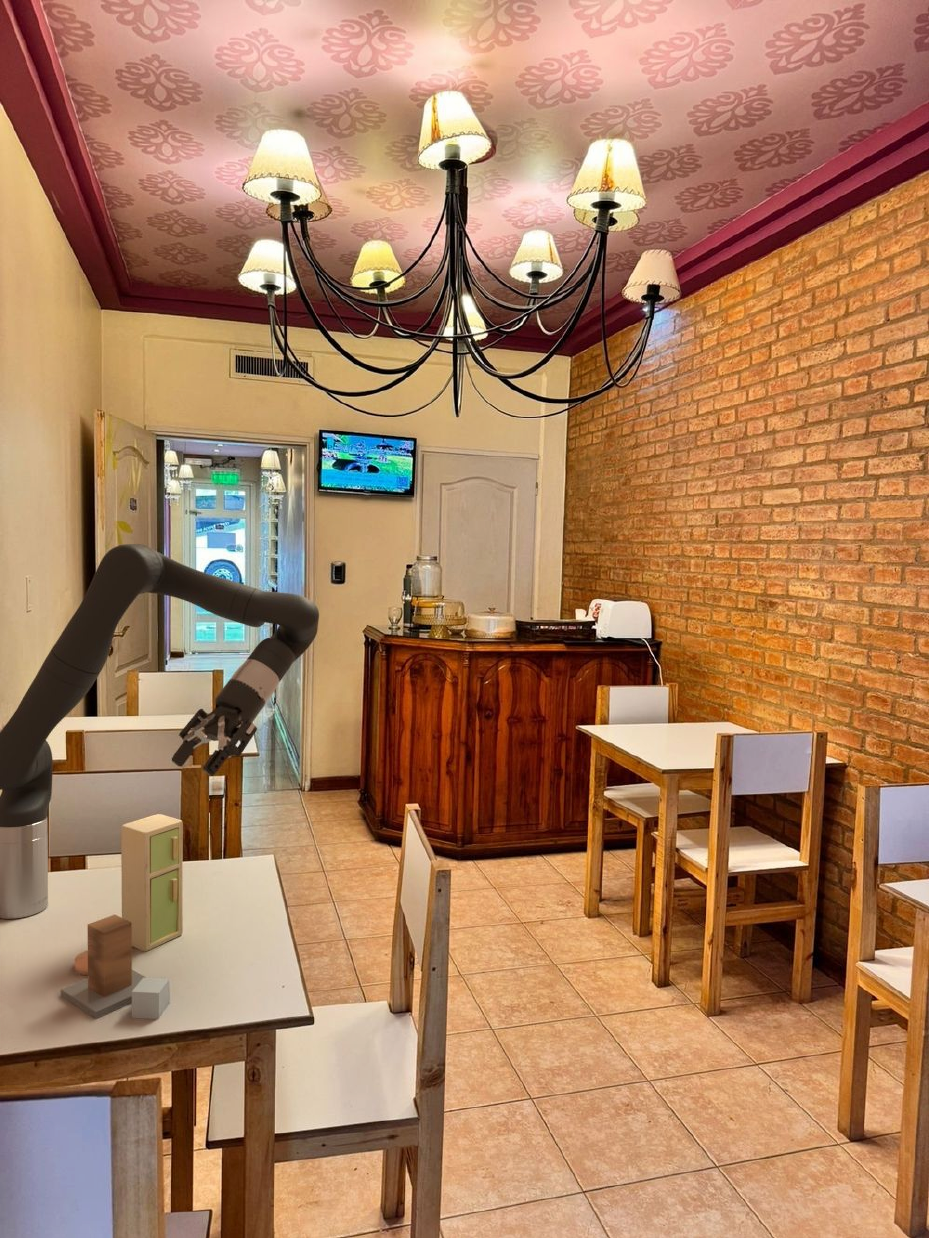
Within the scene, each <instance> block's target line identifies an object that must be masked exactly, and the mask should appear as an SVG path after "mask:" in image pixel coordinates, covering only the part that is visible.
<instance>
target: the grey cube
mask: <svg viewBox="0 0 929 1238" xmlns="http://www.w3.org/2000/svg"><path fill="white" fill-rule="evenodd" d="M170 980H171V979H170V978H167V977H165V978H162V977H160V978H159V977H146V978H143V979H142V980H141V981H140V982H139V983H138V985H137V986H136V987H135V988H134V990H133V991H132V1002H131V1018H132V1019H133V1018H135V1019H138V1018H139V1019H160V1018H161V1017H162V1016H163V1013H164V1012H165V1010H167V1008H168V1007H169V1005H170V1002H171V1001H170V997H171V995H170V989H171V988H170V987H171V986H170V983H171V982H170Z"/></svg>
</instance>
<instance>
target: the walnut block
mask: <svg viewBox="0 0 929 1238" xmlns="http://www.w3.org/2000/svg"><path fill="white" fill-rule="evenodd" d="M132 947H133V946H132V922H130V921H128V920H125V919H123V918H122V916H119V915H117V914H112V915H110V916H107V917H104V918H102V919H98V920H96V921H94V922H91V923H88V924H87V951H88V975H87V978H88V988H89V989H91V990H93V991H94V992H96V993H98V994H99V995H101V996H103V997H106V996H109V995H111V994H113V993H115V992H118V991H120V990H122V989H124V988H126V987H129V986H131V985H132V970H133V969H132V967H133V966H132V965H133V964H132V963H133V960H132V959H133V957H132V956H133V954H132V953H133V951H132V949H133V948H132Z"/></svg>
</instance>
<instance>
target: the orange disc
mask: <svg viewBox="0 0 929 1238" xmlns="http://www.w3.org/2000/svg"><path fill="white" fill-rule="evenodd" d="M73 960H74V961H73V962H74V964H73V966H74V968H73V971H74V972H75V973H76V974H78V975H81V976H88V950H85V951H83V952H81V953H79V954H77V955H76V956H75V957H74V959H73Z"/></svg>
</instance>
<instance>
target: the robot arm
mask: <svg viewBox="0 0 929 1238" xmlns="http://www.w3.org/2000/svg"><path fill="white" fill-rule="evenodd" d="M146 593H148V594H155V595H156V594H157V595H163V596H168V597H171V598H172V597H173V598H176V599H180V600H183V601H185V602H188V603H190V604H192V605H195V606H197V607H199V608H200V609H203V610H204V611H207V612H209V613H211V614H213V615H215V616H218V617H220V618H223V619H226V620H228V621H231V622H232V621H233V622H235V623H237V624H238V623H239V624H241V625H245V626H249V627H252V628H259V627H262V626H263V625H264V624H265V623H267V624H273V625H278V627H277V629H276V630H275V631H274V633H273V634H272V635H271V636H270V637H266V638H264V639H262V640H261V641H260V642H259V643H258V644H257V645H256V647H255V648H254V649H253V651H252V652H251V653H250V654H249V656H248V657H247V659H246V660H245V661H244V662H243V663H242V664H241V665H240V666H239V667H238V668H237V670H236V671H235V672H234V673H233V674H232V676H231V678H229V680H227V682H226V684H225V685H224V686H223V688H222V689H221V690H220V692H219V693H218V694H217V695H216V697H215V699H214V702H215V708H214V709H213V710H212V711H210V712H209V713H207V712H206V711H205V710H204V709H203V708H200V709H198V710H197V712H195V714H194V715H193V716H192V718H190V719H189V721H188V722H187V724H186V725H185V726H184V727H183V729H182V730H181V731H180V732H179V734H178V736H179V737H180V738H181V739H182V743H181V744H180V746H179V747H178V749H177V750H176V752H174V754H173V756H172V757H171V762H172V763H173V764H174V765H176V766H177V767H183V766H184V765H185V763H186V762H187V761H188V760H189V758H190V757H191V755H192V754H193V753H194V751H195V749H196V748H197V747H199V746H201V745H203V744H208V743H210V742H211V741H213V742H215V741H217V742H218V745H217V749H215V750H214V751H213V752H212V754H211V755H210V757H209V758H208V760H207V761H206V763H205V764H203V766H202V770H203V772H205V773H206V774H207V775H208V776H212V777H213V776H214V775H215V774H216V773H217V772H218V771H219V770H220V768H221V767H222V765H223V764H224V763H225V762H226V760H227V759H230V758H231V757H232V756H235V757H237V758H238V757H240V756H241V755H242V754H243V752H244V750H245V749H246V748H247V746H248V744H249V743H250V742H251V740H252V738H253V736H254V735H255V733H256V732H257V731H258V727H257V726H256V725H255V724H254V723H253V722H254V721H255V719H256V718H257V717H258V715H259V714H260V713H261V711H262V710H263V709H264V707H265V706H266V705H267V702H268V701H270V699H271V698H272V696H273V694H274V693H275V691H276V690H277V686H278V685H279V684H280V682H281V680H283V678H284V676H285V675H287V673H288V671H289V669H290V668H291V666H292V665H293V663H294V662H296V661H297V660H298V659H299V658H300V657H301V656H302V655H303V654H304V653H306V651H307V650H308V648H309V647H310V646H311V645H312V643H313V642H314V640H315V638H316V636H317V634H318V630H319V629H318V628H319V618H320V612H319V608H318V606H317V605H316V603H314V602H313V601H312V600H310V599H309V598H307V597H306V596H302V595H300V594H296V593H289V592H287V593H286V592H278V591H264V590H261V589H258V588H255V587H253V586H250V585H246V584H243V583H240V582H236V581H234V580H231V579H226V578H223V577H220V576H216V575H213V574H210V573H206V572H203V571H200V570H198V569H196V568H193V567H191V566H187V565H185V564H183V563H180V562H179V561H176V560H174V559H172V558H170V557H168V556H167V555H165V554H163V553H160V552H158V551H157V550H156V549H152V548H151V547H150V546H148V545H145V544H140V543H131V544H130V543H129V544H128V543H126V544H120V545H117V546H115V547H113V548H111V549H109V550H108V551H107V552H106V553H105V554H104V556H103V557H102V559H101V561H100V562H99V564H98V566H97V568H96V571H95V573H94V575H93V577H92V580H91V581H90V585H89V587H88V588H87V591H86V593H85V595H84V596H83V599H82V601H81V603H80V604H79V606H78V608H77V609H76V610H75V612H74V613H73V615H72V617H71V618H70V620H69V621H68V623H67V624H66V626H65V627H64V629H63V631H62V632H61V634H60V636H59V637H58V639H57V640H56V642H55V643H54V645H53V646H52V648H51V649H50V651H48V652H49V653H48V654H47V656H46V658H45V659H44V661H43V663H42V665H41V666H40V668H39V669H38V671H37V673H36V675H35V677H34V679H33V681H32V682H31V684H30V685H29V687H28V688H27V690H26V692H25V694H24V695H23V697H22V700H21V701H20V703H19V704H18V705H17V708H16V710H15V711H14V712H13V714H12V716H11V717H10V718H9V720H8V721H7V723H6V724H5V725H4V726H3V728H2V729H1V730H0V791H1V790H2V791H1V792H0V919H4V920H5V919H7V920H8V919H19V918H26V917H30V916H32V915H35V914H38V913H40V912H43V910H45V909H47V907H48V906H49V858H48V857H49V853H48V849H49V846H48V841H49V840H48V839H49V838H48V837H49V836H48V808H49V805H50V802H51V799H52V793H53V764H54V763H53V762H54V761H53V760H54V759H53V753H52V749H51V746H50V744H49V742H48V741H47V739H48V738H49V736H50V734H51V733H52V732H53V730H54V729H55V728H56V727H57V726H58V724H60V723H61V722H62V721H63V719H65V718H66V716H67V715H68V714H70V712H72V711H73V709H75V707H77V706H78V704H79V703H80V702H81V701H82V700H83V699H84V697H85V696H86V695H87V693H88V692H89V691H90V689H91V688H92V687H93V685H94V684H95V682H96V680H98V679H97V678H98V677H99V675H100V673H101V672H102V670H103V668H104V666H105V664H106V662H107V659H108V657H109V655H110V651H111V647H112V642H113V640H114V639H113V638H114V637H115V636H114V635H115V631H116V630H117V627H118V625H119V622H120V621H121V619H122V618H123V616H124V615H125V613H126V612H127V610H128V609H129V607H130V606H131V605H132V603H134V601H135V599H137V597H138V596H139V595H142V594H146ZM191 730H192V731H191ZM190 731H191V732H190ZM203 731H204V732H203ZM238 742H239V744H238ZM237 744H238V746H237Z"/></svg>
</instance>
